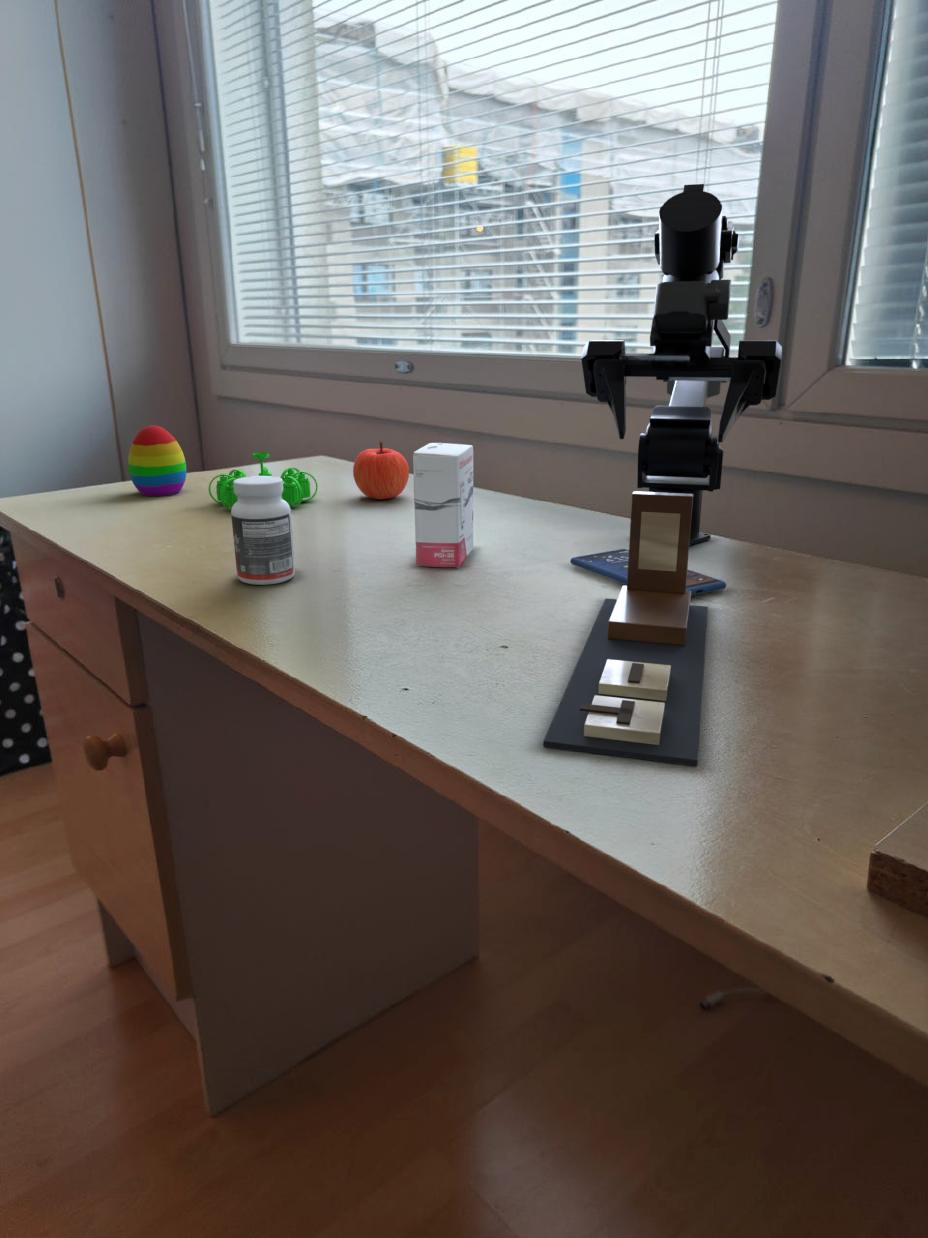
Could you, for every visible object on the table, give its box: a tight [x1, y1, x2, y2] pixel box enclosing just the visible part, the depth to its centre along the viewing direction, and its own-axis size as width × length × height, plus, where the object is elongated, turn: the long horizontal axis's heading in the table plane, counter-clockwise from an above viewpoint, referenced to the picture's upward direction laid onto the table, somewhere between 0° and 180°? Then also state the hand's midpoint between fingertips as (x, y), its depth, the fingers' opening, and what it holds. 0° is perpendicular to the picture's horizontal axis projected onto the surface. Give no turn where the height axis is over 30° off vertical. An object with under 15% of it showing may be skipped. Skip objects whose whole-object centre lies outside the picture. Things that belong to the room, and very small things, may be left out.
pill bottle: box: [230, 475, 296, 586], centre depth 85 cm, size 6×6×10 cm
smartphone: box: [570, 548, 727, 597], centre depth 85 cm, size 8×1×15 cm
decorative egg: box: [127, 424, 187, 497], centre depth 128 cm, size 8×8×10 cm
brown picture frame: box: [608, 490, 693, 646], centre depth 70 cm, size 10×6×10 cm, turn 164°
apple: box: [352, 441, 410, 500], centre depth 124 cm, size 8×8×8 cm
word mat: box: [542, 598, 709, 767], centre depth 64 cm, size 29×9×1 cm, turn 164°
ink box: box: [412, 442, 474, 568], centre depth 91 cm, size 9×5×12 cm, turn 168°
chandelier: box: [208, 452, 318, 510], centre depth 121 cm, size 15×15×7 cm
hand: (669, 437), depth 82 cm, fingers open, 9 cm apart
